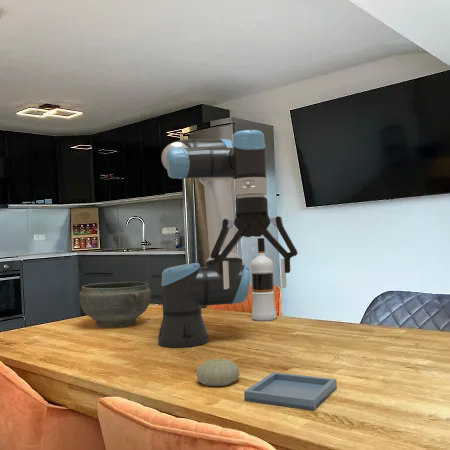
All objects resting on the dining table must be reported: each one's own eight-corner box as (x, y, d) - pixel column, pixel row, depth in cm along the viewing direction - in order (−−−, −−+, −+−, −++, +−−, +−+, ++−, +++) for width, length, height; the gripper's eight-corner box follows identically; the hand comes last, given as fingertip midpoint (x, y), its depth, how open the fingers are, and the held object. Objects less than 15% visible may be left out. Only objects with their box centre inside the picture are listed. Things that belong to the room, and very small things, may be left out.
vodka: (263, 322, 180) (259, 238, 181) (246, 319, 187) (243, 238, 188) (282, 318, 186) (278, 237, 186) (265, 316, 193) (262, 237, 194)
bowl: (170, 323, 185) (169, 282, 186) (106, 335, 168) (105, 290, 168) (124, 315, 209) (123, 279, 209) (64, 324, 192) (63, 285, 192)
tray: (244, 400, 98) (244, 391, 98) (273, 380, 110) (273, 372, 110) (313, 410, 91) (313, 400, 91) (336, 387, 103) (336, 379, 103)
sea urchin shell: (192, 369, 115) (215, 342, 115) (217, 392, 115) (241, 365, 116) (193, 380, 106) (218, 352, 106) (220, 405, 106) (246, 377, 107)
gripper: (195, 199, 117) (199, 290, 117) (303, 192, 112) (308, 288, 111) (203, 201, 125) (207, 287, 124) (305, 195, 119) (310, 285, 119)
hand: (255, 288), depth 118 cm, fingers open, 13 cm apart
